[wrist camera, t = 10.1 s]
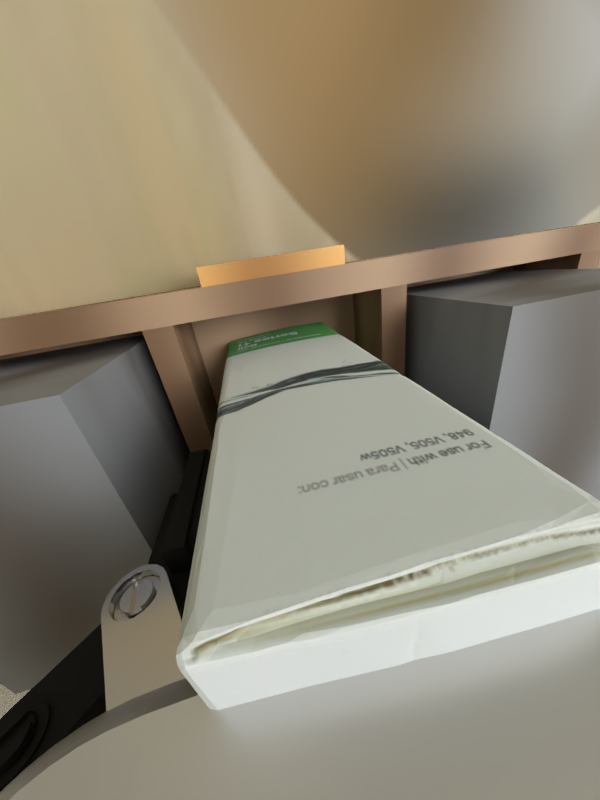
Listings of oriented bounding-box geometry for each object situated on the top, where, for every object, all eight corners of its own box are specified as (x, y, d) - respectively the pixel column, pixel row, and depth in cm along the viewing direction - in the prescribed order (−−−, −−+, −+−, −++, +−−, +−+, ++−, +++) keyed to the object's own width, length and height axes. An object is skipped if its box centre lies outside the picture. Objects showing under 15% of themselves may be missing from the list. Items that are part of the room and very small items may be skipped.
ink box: (223, 338, 12) (124, 689, 2) (326, 319, 13) (695, 507, 2) (262, 481, 16) (301, 865, 6) (340, 462, 17) (509, 777, 6)
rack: (521, 220, 14) (818, 161, 7) (481, 440, 20) (615, 533, 13) (-58, 311, 11) (-610, 379, 4) (99, 535, 17) (-6, 724, 10)
